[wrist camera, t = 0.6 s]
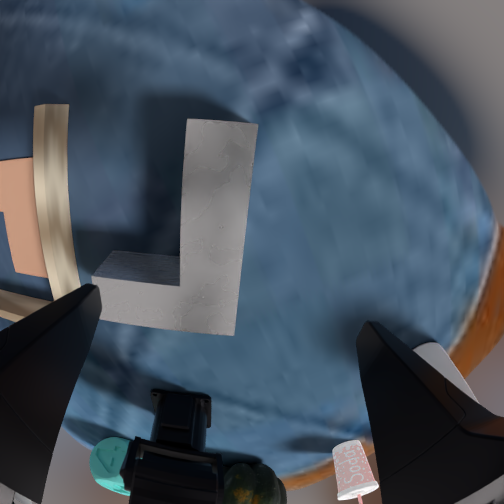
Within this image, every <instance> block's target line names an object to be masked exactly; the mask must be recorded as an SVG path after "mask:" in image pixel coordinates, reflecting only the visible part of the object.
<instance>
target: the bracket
mask: <svg viewBox="0 0 504 504" xmlns="http://www.w3.org/2000/svg"><path fill="white" fill-rule="evenodd" d="M257 129H258V124H252V123H243V122H232V121H220V120H204V119H187V127H186V138H185V151H184V164H183V181H182V201H181V231H180V256H171V255H160V254H149V253H139V252H128V251H118V250H113V251H112V252H111V254H110V255H109V256H108V257H107V258H106V259H105V260H104V262H103V263H102V264H101V265H100V266H99V268H98V269H97V270H96V271H95V272H94V274H93V275H92V282H93V284H94V285H97V286H98V287H99V289H100V295H101V301H102V312H101V315H100V319H101V320H107V321H113V322H119V323H125V324H132V325H138V326H145V327H153V328H160V329H168V330H177V331H186V332H195V333H206V334H217V335H230V336H234V331H235V321H236V312H237V303H238V294H239V285H240V275H241V266H242V257H243V249H244V240H245V231H246V222H247V213H248V205H249V196H250V188H251V179H252V171H253V162H254V154H255V146H256V138H257Z"/></svg>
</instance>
